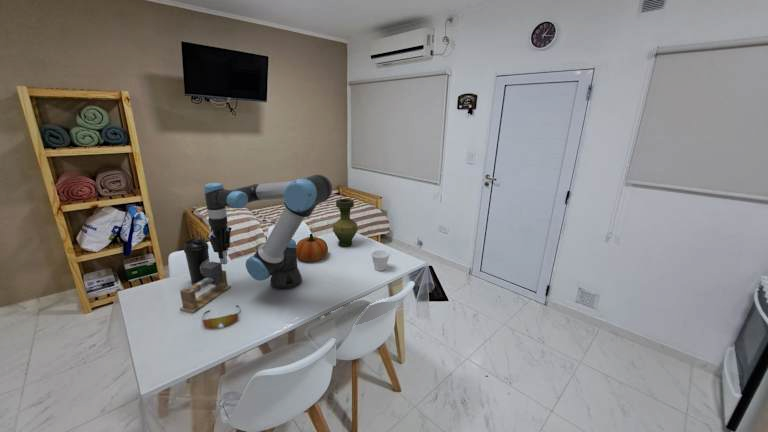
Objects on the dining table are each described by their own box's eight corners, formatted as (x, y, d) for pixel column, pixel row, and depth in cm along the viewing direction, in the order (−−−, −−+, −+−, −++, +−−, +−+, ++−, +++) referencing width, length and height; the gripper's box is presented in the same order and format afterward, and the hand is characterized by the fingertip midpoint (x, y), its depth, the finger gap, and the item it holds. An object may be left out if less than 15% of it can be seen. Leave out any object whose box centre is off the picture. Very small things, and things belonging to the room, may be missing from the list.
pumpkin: (313, 248, 199) (312, 225, 194) (334, 256, 188) (334, 232, 183) (288, 258, 184) (286, 234, 179) (310, 267, 173) (309, 242, 168)
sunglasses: (200, 333, 119) (198, 321, 118) (205, 316, 132) (203, 305, 132) (240, 325, 124) (239, 313, 123) (241, 309, 138) (240, 298, 137)
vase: (329, 248, 198) (328, 203, 189) (337, 239, 214) (336, 197, 205) (354, 250, 196) (354, 205, 187) (360, 241, 211) (360, 198, 202)
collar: (214, 278, 148) (211, 261, 145) (223, 280, 146) (221, 263, 144) (204, 284, 142) (201, 267, 139) (214, 286, 141) (211, 268, 138)
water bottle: (203, 289, 148) (196, 244, 141) (185, 286, 150) (176, 242, 143) (218, 279, 158) (212, 237, 151) (200, 276, 160) (193, 234, 153)
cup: (368, 270, 171) (368, 255, 168) (375, 263, 180) (375, 248, 177) (385, 274, 167) (385, 258, 165) (391, 266, 176) (392, 251, 173)
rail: (218, 285, 152) (216, 268, 149) (231, 287, 150) (228, 270, 148) (180, 310, 132) (176, 291, 129) (193, 313, 130) (190, 294, 127)
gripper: (221, 212, 149) (227, 256, 156) (199, 220, 137) (206, 268, 144) (234, 213, 147) (239, 259, 154) (213, 222, 135) (220, 270, 142)
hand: (223, 263), depth 149 cm, fingers closed
